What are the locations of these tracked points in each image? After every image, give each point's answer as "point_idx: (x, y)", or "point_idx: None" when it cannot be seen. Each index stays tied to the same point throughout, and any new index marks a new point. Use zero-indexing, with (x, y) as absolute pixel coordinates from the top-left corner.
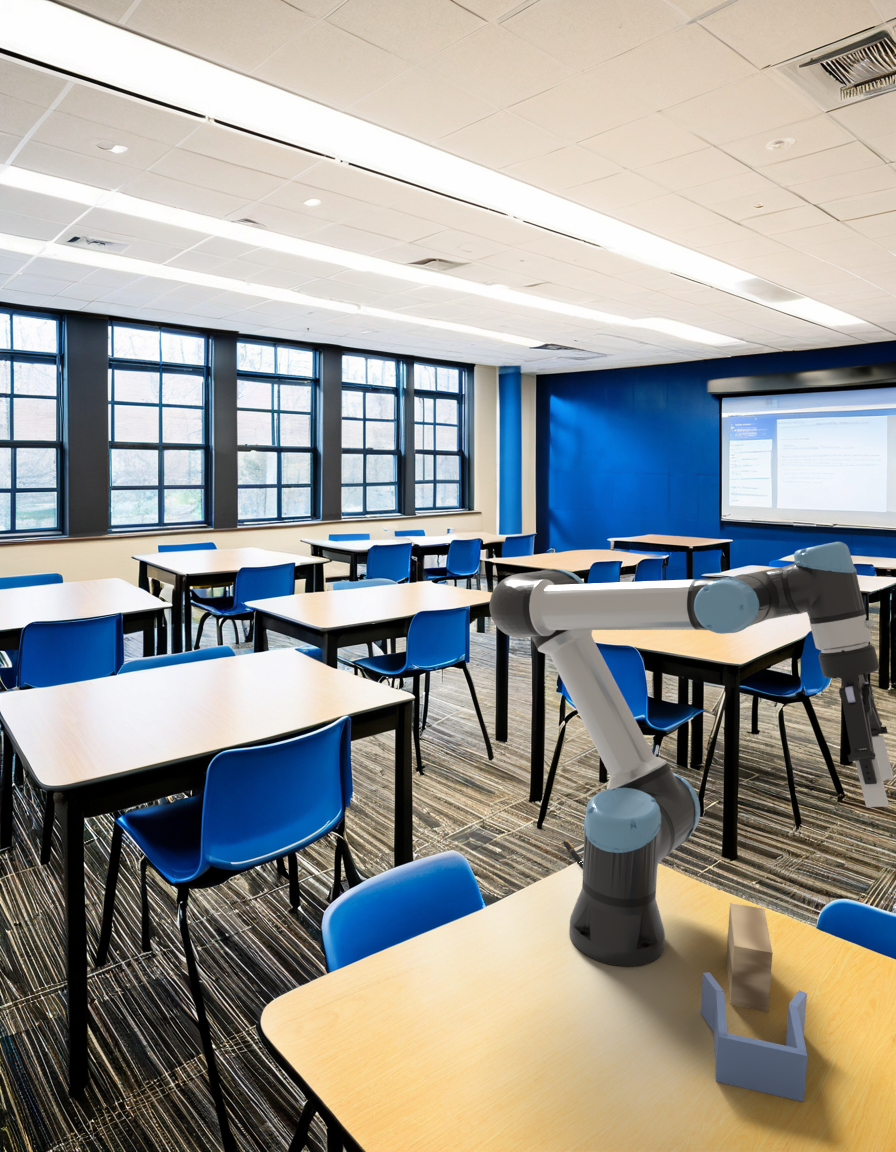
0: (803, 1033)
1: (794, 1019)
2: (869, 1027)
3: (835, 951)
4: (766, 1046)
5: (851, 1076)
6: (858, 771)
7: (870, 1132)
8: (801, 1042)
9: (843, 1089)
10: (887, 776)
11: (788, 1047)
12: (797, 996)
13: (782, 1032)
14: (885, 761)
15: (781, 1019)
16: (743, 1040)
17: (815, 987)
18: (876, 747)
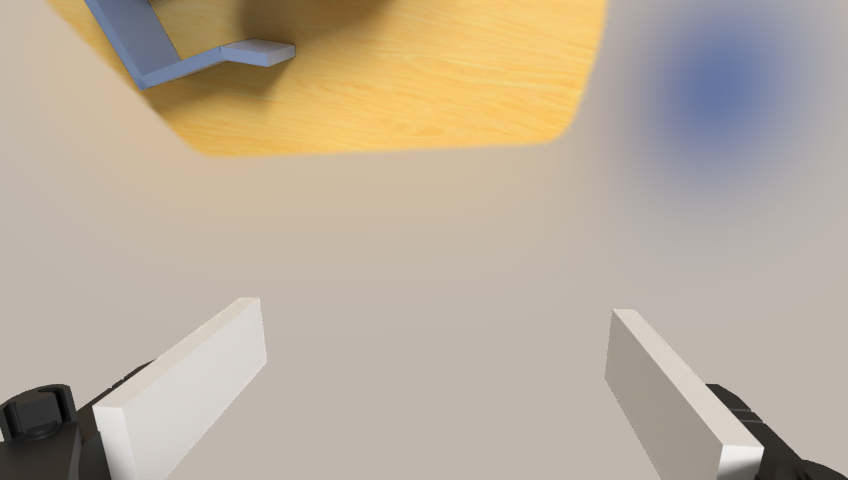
0: (294, 56)
1: (193, 61)
2: (372, 132)
3: (548, 66)
4: (108, 36)
5: (265, 120)
6: (145, 372)
7: (200, 145)
8: (157, 79)
9: (237, 115)
10: (612, 366)
11: (133, 65)
12: (248, 54)
13: (279, 27)
14: (635, 415)
15: (305, 20)
16: (88, 2)
17: (419, 52)
18: (675, 448)
